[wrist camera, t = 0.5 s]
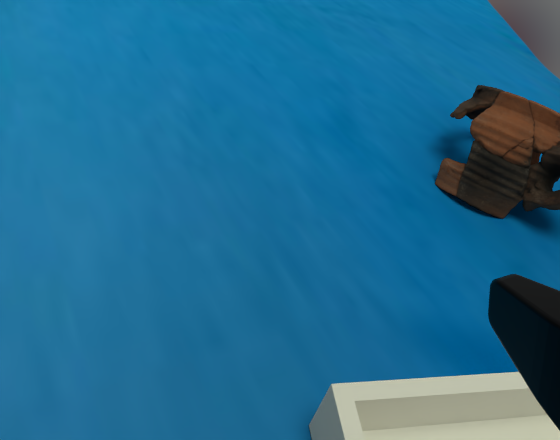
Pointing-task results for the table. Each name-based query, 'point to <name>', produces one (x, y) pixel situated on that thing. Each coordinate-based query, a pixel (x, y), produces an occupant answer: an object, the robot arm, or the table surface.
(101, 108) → the table surface
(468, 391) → the gray and white box
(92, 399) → the table surface
